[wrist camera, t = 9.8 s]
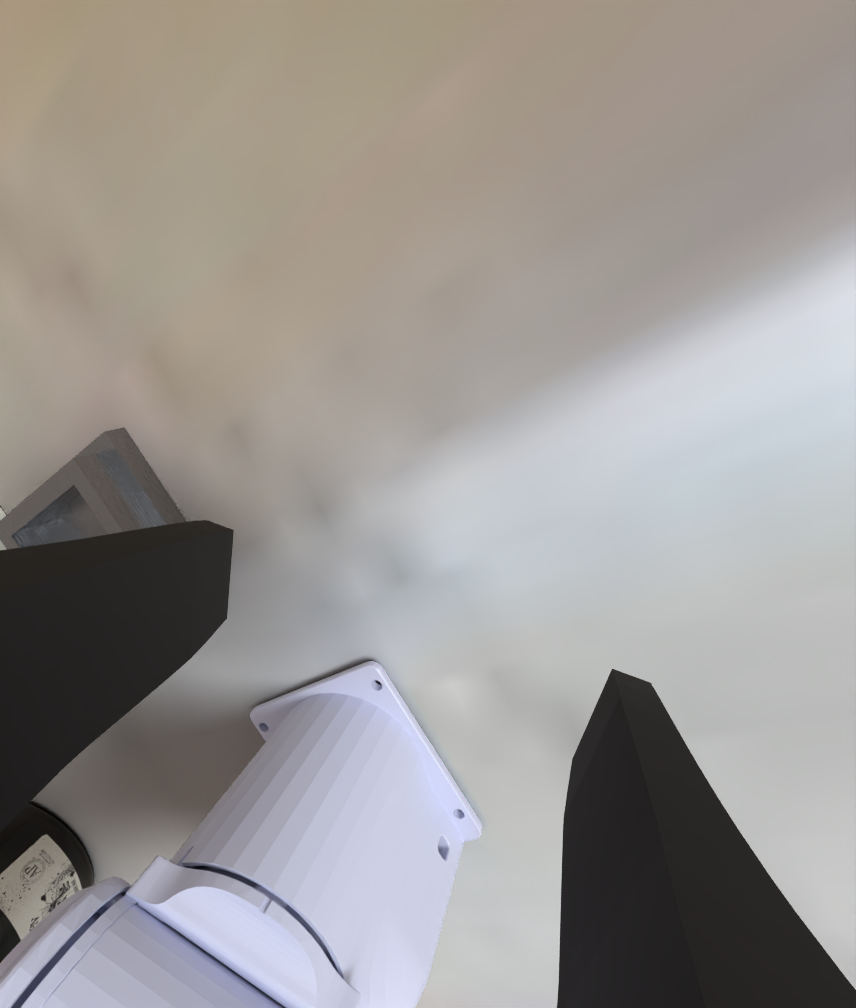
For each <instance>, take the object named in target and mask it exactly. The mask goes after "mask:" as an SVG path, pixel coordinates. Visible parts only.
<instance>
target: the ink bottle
mask: <svg viewBox="0 0 856 1008" xmlns="http://www.w3.org/2000/svg"><path fill="white" fill-rule="evenodd" d="M91 886H93V872H92V867H91V864H90V861H89V858H88V856H87V854H86V852H85V850H84V848H83V846H82V845H81V843H80V842H79V841H78V839H77V838H76V837H75V836H74V834H73V833H72V832H71V831H70V830H69V829H68V828H67V827H66V826H64V825H63V824H62V823H61V822H60V821H58V820H57V819H56V818H54V817H53V816H51V815H50V814H48V813H47V812H45V811H43V810H42V809H40V808H38V807H36V806H33V805H31V804H27V805H26V806H25V807H24V808H23V809H22V810H21V811H20V812H19V813H18V814H17V815H16V816H15V817H14V818H13V819H12V820H11V821H10V822H9V823H8V824H7V826H6V827H5V828H4V829H3V830H2V831H1V832H0V963H1V962H2V961H3V960H4V958H5V957H6V956H7V955H8V954H9V953H10V952H11V951H12V950H13V949H14V948H15V947H16V945H17V944H18V943H19V942H20V941H21V940H22V939H23V938H24V937H25V936H26V935H27V934H28V933H29V932H30V931H31V930H32V929H33V928H34V927H35V926H36V925H37V924H38V923H39V922H40V921H41V920H43V919H44V918H45V917H46V916H47V915H48V914H49V913H50V912H51V911H52V910H54V909H55V908H56V907H57V906H58V905H60V904H61V903H62V902H63V901H65V900H66V899H67V898H69V897H70V896H72V895H73V894H75V893H76V892H78V891H80V890H82V889H85V888H88V887H91Z"/></svg>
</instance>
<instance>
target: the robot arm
mask: <svg viewBox="0 0 856 1008" xmlns="http://www.w3.org/2000/svg"><path fill="white" fill-rule="evenodd" d="M233 531H234V530H232V529H229V528H226V527H224V526H221V525H218V524H215V523H213V522H210V521H207V520H204V521H191V522H182V523H174V524H168V525H161V526H155V527H149V528H143V529H137V530H131V531H125V532H119V533H113V534H107V535H101V536H95V537H89V538H83V539H77V540H70V541H63V542H56V543H49V544H42V545H35V546H28V547H21V548H14V549H7V550H0V832H1V831H2V830H3V829H4V828H5V827H6V826H7V824H8V823H9V822H10V821H11V820H12V819H13V818H14V817H15V816H16V815H17V814H18V813H19V812H20V811H21V810H22V809H23V808H24V807H25V806H26V805H27V804H28V803H29V802H30V801H31V800H32V799H33V798H34V797H35V796H36V795H37V794H38V793H39V792H40V791H41V790H42V789H43V788H44V787H45V786H46V785H47V784H48V783H49V782H50V781H51V780H52V779H53V778H54V777H55V776H56V775H57V774H58V773H59V772H60V771H61V770H62V769H63V768H64V767H65V766H66V765H67V764H68V763H69V762H71V761H72V760H73V759H74V758H75V757H76V756H77V755H78V754H79V753H81V752H82V751H83V750H84V749H85V748H86V747H87V746H88V745H89V744H91V743H92V742H93V741H94V740H95V739H97V738H98V737H99V736H100V735H101V734H103V733H104V732H105V731H106V730H107V729H108V728H110V727H111V726H112V725H113V724H114V723H116V722H117V721H118V720H119V719H120V718H122V717H123V716H124V715H125V714H126V713H127V712H129V711H130V710H131V709H132V708H133V707H135V706H136V705H137V704H138V703H139V702H140V701H142V700H143V699H144V698H145V697H146V696H148V695H149V694H150V693H151V692H152V691H154V690H155V689H156V688H157V687H158V686H159V685H161V684H162V683H163V682H164V681H165V680H166V679H168V678H169V677H170V676H171V675H172V674H173V673H175V672H176V671H177V670H178V669H179V668H180V667H181V666H183V665H184V664H185V663H186V662H187V661H188V660H189V659H190V658H192V656H193V655H194V654H195V653H196V652H197V651H198V650H199V649H200V648H201V647H202V646H203V645H204V644H205V643H206V642H207V640H208V639H209V638H210V637H211V636H212V635H213V634H214V632H215V631H216V630H217V629H218V628H219V627H220V626H221V624H222V623H223V622H224V621H225V620H226V619H227V609H228V596H229V583H230V570H231V557H232V544H233ZM375 680H377V681H379V682H380V683H381V684H382V685H379V684H377V683H376V682H375ZM250 719H251V721H252V723H253V724H254V726H255V727H256V728H257V730H258V731H259V733H260V734H261V736H262V737H263V739H264V740H265V744H264V745H263V746H262V747H261V749H260V750H259V751H258V752H257V754H256V755H255V756H254V757H253V758H252V760H251V761H250V762H249V763H248V765H247V766H246V767H245V768H244V770H243V771H242V772H241V773H240V775H239V776H238V777H237V778H236V780H235V781H234V782H233V783H232V785H231V786H230V787H229V788H228V790H227V791H226V792H225V793H224V795H223V796H222V797H221V798H220V799H219V801H218V802H217V803H216V804H215V806H214V807H213V808H212V809H211V811H210V812H209V813H208V814H207V816H206V817H205V818H204V819H203V821H202V822H201V823H200V824H199V826H198V827H197V828H196V829H195V831H194V832H193V833H192V834H191V836H190V837H189V838H188V839H187V840H186V842H185V843H184V844H183V845H182V847H181V848H180V849H179V850H178V852H177V853H176V854H175V855H174V857H173V858H172V859H171V860H170V861H168V860H167V859H165V858H163V857H162V856H157V857H156V858H155V859H154V860H153V861H152V862H151V864H150V865H149V866H148V867H147V868H146V870H145V871H144V872H143V873H142V874H141V876H140V877H139V878H138V879H137V880H136V882H135V883H134V884H133V885H130V884H129V883H128V882H126V881H125V880H123V879H122V878H118V877H112V878H109V879H106V880H104V881H102V882H100V883H99V884H97V885H94V886H91V887H88V888H85V889H82V890H80V891H78V892H76V893H75V894H73V895H72V896H70V897H69V898H67V899H66V900H65V901H63V902H62V903H61V904H60V905H58V906H57V907H56V908H55V909H54V910H52V911H51V912H50V913H49V914H48V915H47V916H46V917H45V918H44V919H43V920H41V921H40V922H39V923H38V924H37V925H36V926H35V927H34V928H33V929H32V930H31V931H30V932H29V933H28V934H27V935H26V936H25V937H24V938H23V939H22V940H21V941H20V942H19V943H18V944H17V945H16V947H15V948H14V949H13V950H12V951H11V952H10V953H9V954H8V955H7V956H6V957H5V958H4V960H3V961H2V962H1V963H0V1008H415V1007H416V1005H417V1003H418V1001H419V999H420V997H421V995H422V993H423V990H424V988H425V985H426V983H427V980H428V977H429V974H430V970H431V967H432V963H433V959H434V955H435V951H436V948H437V944H438V940H439V936H440V932H441V929H442V925H443V921H444V917H445V913H446V909H447V906H448V902H449V898H450V894H451V890H452V887H453V883H454V879H455V875H456V871H457V868H458V864H459V860H460V856H461V852H462V848H463V845H464V842H466V841H471V840H476V839H478V838H479V837H480V836H481V833H482V827H483V826H482V824H481V822H480V820H479V819H478V817H477V816H476V814H475V812H474V811H473V809H472V808H471V806H470V805H469V803H468V801H467V800H466V798H465V797H464V795H463V794H462V792H461V790H460V789H459V787H458V786H457V784H456V782H455V781H454V779H453V778H452V776H451V775H450V773H449V771H448V770H447V768H446V767H445V765H444V764H443V762H442V760H441V759H440V757H439V756H438V754H437V753H436V751H435V749H434V748H433V746H432V745H431V743H430V741H429V740H428V738H427V737H426V735H425V734H424V732H423V730H422V729H421V727H420V726H419V724H418V723H417V721H416V719H415V718H414V716H413V715H412V713H411V712H410V710H409V708H408V707H407V705H406V704H405V702H404V700H403V699H402V697H401V696H400V694H399V693H398V691H397V689H396V688H395V686H394V685H393V683H392V682H391V680H390V678H389V677H388V675H387V674H386V672H385V671H384V669H383V667H382V666H381V665H380V664H379V663H377V662H374V661H368V662H365V663H363V664H360V665H358V666H355V667H353V668H350V669H348V670H345V671H343V672H340V673H338V674H335V675H333V676H330V677H328V678H325V679H323V680H320V681H318V682H315V683H313V684H310V685H308V686H305V687H303V688H300V689H298V690H295V691H293V692H290V693H288V694H285V695H283V696H280V697H278V698H275V699H273V700H270V701H268V702H265V703H263V704H260V705H258V706H256V707H255V708H254V709H253V710H252V711H251V712H250ZM458 809H459V810H461V811H459V810H458ZM557 1008H856V990H855V989H854V987H853V986H852V985H851V984H850V982H849V981H848V980H847V979H846V977H845V976H844V975H843V973H842V972H841V971H840V970H839V968H838V967H837V966H836V964H835V963H834V962H833V960H832V959H831V958H830V956H829V955H828V954H827V953H826V951H825V950H824V949H823V947H822V946H821V945H820V943H819V942H818V941H817V939H816V938H815V937H814V935H813V934H812V933H811V932H810V930H809V929H808V928H807V926H806V925H805V924H804V922H803V921H802V920H801V918H800V917H799V916H798V915H797V913H796V912H795V911H794V909H793V908H792V906H791V905H790V904H789V902H788V901H787V900H786V898H785V897H784V895H783V894H782V893H781V891H780V890H779V888H778V887H777V886H776V884H775V883H774V881H773V880H772V879H771V877H770V876H769V874H768V873H767V871H766V870H765V868H764V867H763V865H762V864H761V862H760V861H759V860H758V858H757V857H756V855H755V854H754V852H753V851H752V849H751V848H750V846H749V845H748V843H747V842H746V840H745V839H744V837H743V836H742V834H741V833H740V832H739V830H738V829H737V827H736V825H735V824H734V822H733V821H732V819H731V818H730V816H729V815H728V813H727V811H726V810H725V808H724V807H723V805H722V804H721V802H720V800H719V799H718V797H717V796H716V794H715V792H714V791H713V789H712V788H711V786H710V784H709V783H708V781H707V779H706V778H705V776H704V774H703V773H702V771H701V769H700V768H699V766H698V764H697V763H696V761H695V759H694V758H693V756H692V754H691V753H690V751H689V749H688V747H687V746H686V744H685V742H684V740H683V739H682V737H681V735H680V733H679V732H678V730H677V728H676V726H675V725H674V723H673V721H672V719H671V718H670V716H669V714H668V712H667V711H666V709H665V707H664V705H663V703H662V702H661V700H660V698H659V696H658V695H657V693H656V691H655V690H654V688H653V686H652V685H651V683H650V682H647V681H644V680H641V679H639V678H636V677H633V676H630V675H628V674H625V673H622V672H620V671H617V670H614V669H612V670H611V673H610V675H609V677H608V680H607V682H606V684H605V686H604V689H603V691H602V693H601V695H600V698H599V700H598V702H597V705H596V707H595V709H594V711H593V714H592V716H591V718H590V720H589V723H588V725H587V727H586V730H585V732H584V734H583V736H582V739H581V741H580V743H579V745H578V748H577V750H576V752H575V755H574V757H573V759H572V766H571V772H570V779H569V785H568V792H567V799H566V806H565V813H564V824H563V853H562V886H561V923H560V961H559V988H558V1003H557Z"/></svg>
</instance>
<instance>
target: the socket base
mask: <svg viewBox="0 0 856 1008" xmlns="http://www.w3.org/2000/svg"><path fill="white" fill-rule="evenodd" d="M182 522H186V521H185V519H184V518H183V516H182V515H181V513H180V512H179V510H178V508H177V507H176V505H175V504H174V502H173V501H172V499H171V498H170V496H169V495H168V493H167V492H166V490H165V489H164V487H163V486H162V484H161V483H160V481H159V480H158V478H157V477H156V475H155V474H154V472H153V471H152V469H151V468H150V466H149V465H148V463H147V462H146V460H145V459H144V457H143V456H142V454H141V453H140V451H139V450H138V448H137V447H136V445H135V443H134V442H133V440H132V439H131V437H130V436H129V434H128V433H127V431H126V430H125V428H120V429H115V430H111V431H106V432H104V433H103V434H101V435H100V436H99V437H98V438H97V439H96V440H94V441H93V442H92V443H91V444H90V445H88V446H87V447H86V448H85V449H84V450H83V451H81V452H80V453H79V454H78V455H77V456H76V457H74V458H73V459H72V460H71V461H70V462H68V463H67V464H66V465H65V466H64V467H63V468H61V469H60V470H59V471H58V472H57V473H56V474H54V475H53V476H52V477H51V478H50V479H48V480H47V481H46V482H45V483H44V484H43V485H41V486H40V487H39V488H38V489H37V490H36V491H34V492H33V493H32V494H31V495H30V496H28V497H27V498H26V499H25V500H24V501H23V502H21V503H20V504H19V505H18V506H17V507H16V508H14V509H13V510H12V511H11V512H10V513H9V514H7V515H6V516H5V517H4V518H3V519H2V520H0V540H1V542H2V543H3V545H4V546H5V547H6V549H14V548H21V547H28V546H35V545H42V544H49V543H56V542H63V541H70V540H77V539H83V538H89V537H95V536H101V535H107V534H113V533H119V532H125V531H131V530H137V529H143V528H149V527H155V526H161V525H168V524H174V523H182Z"/></svg>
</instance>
